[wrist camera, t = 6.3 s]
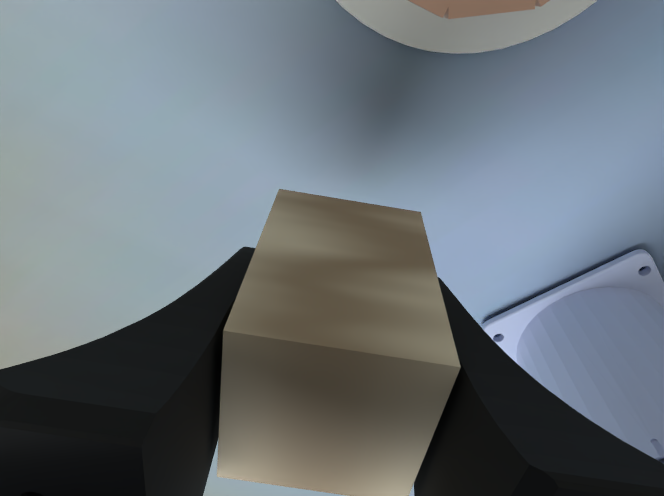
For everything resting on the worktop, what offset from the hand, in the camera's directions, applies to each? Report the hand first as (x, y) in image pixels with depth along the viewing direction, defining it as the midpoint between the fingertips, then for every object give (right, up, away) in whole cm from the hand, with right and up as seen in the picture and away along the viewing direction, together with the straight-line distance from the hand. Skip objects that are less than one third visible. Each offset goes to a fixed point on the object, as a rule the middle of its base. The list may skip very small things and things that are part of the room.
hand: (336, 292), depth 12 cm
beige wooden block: (0, +1, +1) cm, 2 cm away
